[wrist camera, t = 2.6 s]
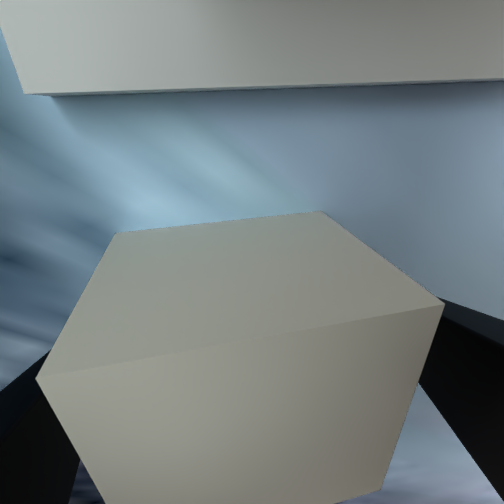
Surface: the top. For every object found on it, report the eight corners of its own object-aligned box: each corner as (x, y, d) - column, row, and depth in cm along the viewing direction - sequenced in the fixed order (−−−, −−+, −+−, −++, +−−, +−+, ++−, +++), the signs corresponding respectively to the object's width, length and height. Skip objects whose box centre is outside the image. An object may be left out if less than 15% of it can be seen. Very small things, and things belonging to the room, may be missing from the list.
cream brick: (308, 349, 11) (380, 489, 7) (156, 378, 10) (138, 562, 6) (319, 209, 8) (445, 304, 4) (116, 231, 7) (36, 378, 3)
